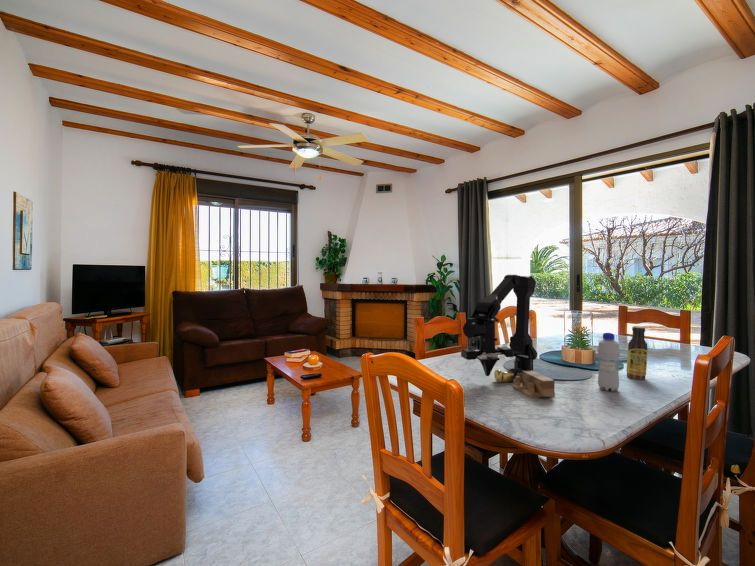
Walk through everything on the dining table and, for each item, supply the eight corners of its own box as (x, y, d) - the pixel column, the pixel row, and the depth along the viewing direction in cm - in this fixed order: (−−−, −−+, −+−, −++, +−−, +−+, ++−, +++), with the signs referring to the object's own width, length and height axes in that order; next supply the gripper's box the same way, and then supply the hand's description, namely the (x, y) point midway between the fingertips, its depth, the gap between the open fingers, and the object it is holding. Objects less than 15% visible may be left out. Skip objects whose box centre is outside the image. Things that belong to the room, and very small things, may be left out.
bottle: (595, 389, 129) (595, 333, 128) (599, 385, 134) (600, 330, 133) (617, 393, 124) (618, 335, 124) (621, 389, 129) (622, 332, 128)
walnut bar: (554, 395, 120) (554, 380, 120) (543, 396, 119) (543, 381, 119) (532, 384, 132) (532, 370, 132) (522, 385, 131) (522, 371, 131)
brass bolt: (508, 379, 142) (508, 367, 142) (515, 382, 137) (515, 370, 137) (494, 380, 141) (494, 368, 141) (500, 383, 136) (500, 371, 136)
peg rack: (513, 386, 133) (513, 375, 133) (533, 385, 135) (533, 373, 134) (533, 397, 121) (533, 385, 121) (554, 396, 123) (555, 383, 123)
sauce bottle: (628, 379, 140) (629, 327, 139) (624, 375, 146) (625, 325, 145) (649, 381, 138) (650, 328, 137) (644, 376, 143) (645, 326, 143)
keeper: (518, 377, 144) (518, 367, 144) (530, 383, 137) (530, 373, 137) (507, 378, 143) (507, 368, 143) (518, 384, 136) (518, 374, 136)
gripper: (499, 329, 147) (499, 368, 147) (455, 332, 143) (455, 371, 144) (514, 334, 136) (514, 376, 136) (467, 337, 132) (467, 380, 133)
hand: (487, 375), depth 138 cm, fingers closed
